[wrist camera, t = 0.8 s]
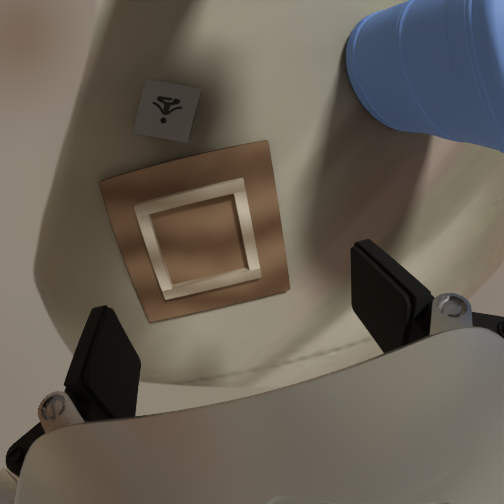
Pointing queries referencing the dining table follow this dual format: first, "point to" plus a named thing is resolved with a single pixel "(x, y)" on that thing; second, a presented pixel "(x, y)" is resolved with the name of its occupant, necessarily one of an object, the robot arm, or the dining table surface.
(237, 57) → the dining table surface
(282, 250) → the pocket board
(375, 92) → the water jug
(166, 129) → the dice cube
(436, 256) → the dining table surface
